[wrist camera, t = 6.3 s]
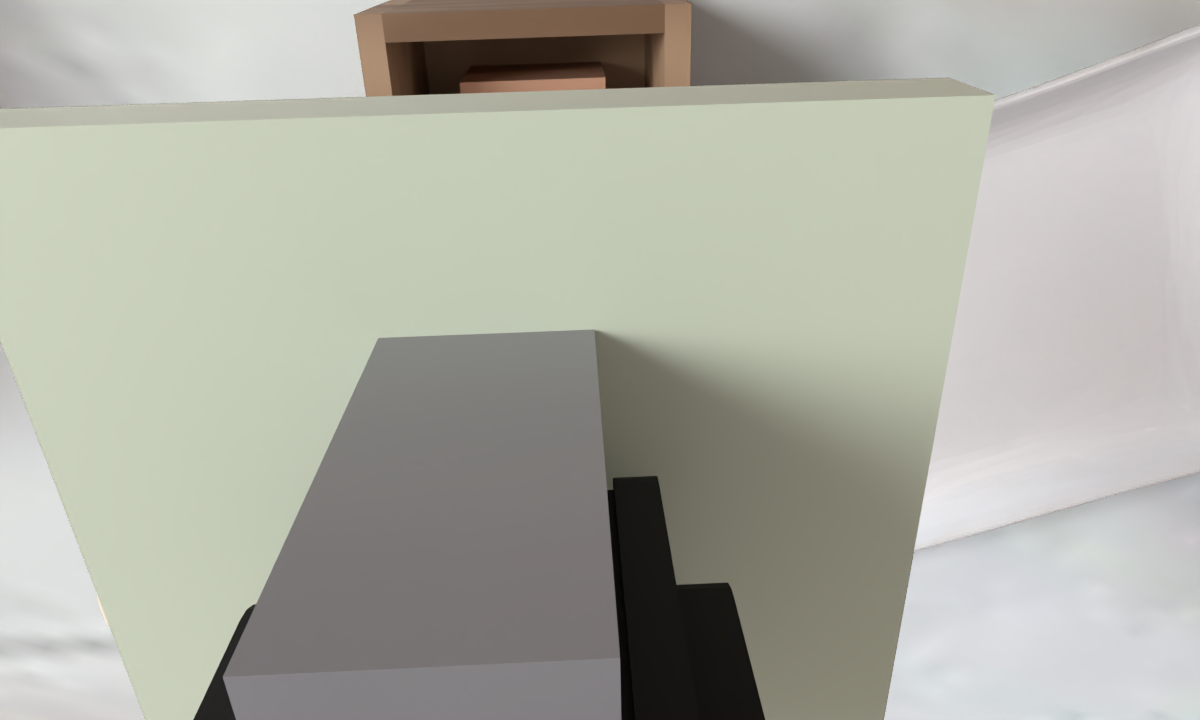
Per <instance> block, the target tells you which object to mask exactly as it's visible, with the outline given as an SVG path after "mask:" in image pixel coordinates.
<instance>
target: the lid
mask: <svg viewBox="0 0 1200 720" xmlns="http://www.w3.org/2000/svg"><path fill="white" fill-rule="evenodd" d="M995 96H996V95H994V94H991V93H989V92H986V91H983V90H981V89H978V88H975V87H973V86H970V85H967V84H964V83H962V82H959V81H956V80H954V79H951V78H923V79H892V80H862V81H832V82H801V83H771V84H740V85H710V86H679V87H649V88H618V89H588V90H557V91H527V92H497V93H466V94H436V95H405V96H375V97H344V98H314V99H283V100H253V101H222V102H192V103H162V104H131V105H101V106H70V107H40V108H9V109H0V341H1V344H2V346H3V349H4V352H5V354H6V357H7V359H8V362H9V365H10V367H11V370H12V372H13V375H14V378H15V380H16V383H17V386H18V388H19V391H20V393H21V396H22V399H23V401H24V404H25V407H26V409H27V412H28V414H29V417H30V420H31V422H32V425H33V428H34V430H35V433H36V435H37V438H38V441H39V443H40V446H41V448H42V451H43V454H44V456H45V459H46V462H47V464H48V467H49V469H50V472H51V475H52V477H53V480H54V483H55V485H56V488H57V490H58V493H59V496H60V498H61V501H62V503H63V506H64V509H65V511H66V514H67V517H68V519H69V522H70V524H71V527H72V530H73V532H74V535H75V538H76V540H77V543H78V545H79V548H80V551H81V553H82V556H83V558H84V561H85V564H86V566H87V569H88V572H89V574H90V577H91V579H92V582H93V585H94V587H95V590H96V593H97V595H98V598H99V600H100V603H101V606H102V608H103V611H104V613H105V616H106V619H107V621H108V624H109V627H110V629H111V632H112V634H113V637H114V640H115V642H116V645H117V648H118V650H119V653H120V655H121V658H122V661H123V663H124V666H125V669H126V671H127V674H128V676H129V679H130V682H131V684H132V687H133V689H134V692H135V695H136V697H137V700H138V703H139V705H140V708H141V710H142V713H143V716H144V718H145V720H193V719H194V717H195V715H196V713H197V711H198V709H199V706H200V704H201V702H202V700H203V698H204V696H205V694H206V692H207V689H208V687H209V685H210V683H211V681H212V679H213V677H214V674H215V672H216V670H217V668H218V666H219V664H220V662H221V660H222V657H223V655H224V653H225V651H226V649H227V647H228V645H229V642H230V640H231V638H232V636H233V634H234V632H235V630H236V628H237V625H238V623H239V621H240V619H241V618H242V616H243V614H244V613H245V611H246V610H247V609H248V608H249V607H251V606H252V605H253V604H256V606H255V608H254V610H253V612H252V614H251V616H250V619H249V621H248V623H247V625H246V627H245V629H244V632H243V634H242V636H241V638H240V640H239V643H238V645H237V647H236V649H235V651H234V653H233V656H232V658H231V660H230V662H229V664H228V667H227V669H226V671H225V673H224V675H223V680H224V683H225V686H226V689H227V693H228V696H229V699H230V702H231V705H232V709H233V712H234V715H235V718H236V720H621V675H620V650H619V637H618V624H617V611H616V598H615V586H614V573H613V560H612V547H611V535H610V522H609V509H608V496H607V490H613V478H618V477H641V476H657V477H658V481H659V486H660V492H661V498H662V503H663V509H664V515H665V521H666V527H667V532H668V538H669V544H670V550H671V556H672V562H673V567H674V573H675V579H676V585H683V584H705V583H727V582H728V584H729V585H730V587H731V589H732V592H733V595H734V599H735V603H736V607H737V611H738V615H739V619H740V622H741V626H742V630H743V634H744V638H745V642H746V646H747V650H748V654H749V658H750V662H751V666H752V670H753V673H754V677H755V681H756V685H757V689H758V693H759V697H760V701H761V705H762V709H763V713H764V717H765V720H884V716H885V710H886V705H887V699H888V693H889V688H890V682H891V677H892V671H893V666H894V660H895V654H896V649H897V643H898V638H899V632H900V626H901V621H902V615H903V610H904V604H905V598H906V593H907V587H908V582H909V576H910V571H911V565H912V559H913V554H914V548H915V543H916V537H917V531H918V526H919V520H920V515H921V509H922V504H923V498H924V492H925V487H926V481H927V476H928V470H929V464H930V459H931V453H932V448H933V442H934V436H935V431H936V425H937V420H938V414H939V409H940V403H941V397H942V392H943V386H944V381H945V375H946V369H947V364H948V358H949V353H950V347H951V341H952V336H953V330H954V325H955V319H956V314H957V308H958V302H959V297H960V291H961V286H962V280H963V274H964V269H965V263H966V258H967V252H968V246H969V241H970V235H971V230H972V224H973V219H974V213H975V207H976V202H977V196H978V191H979V185H980V179H981V174H982V168H983V163H984V157H985V152H986V146H987V140H988V135H989V129H990V124H991V118H992V112H993V107H994V101H995Z"/></svg>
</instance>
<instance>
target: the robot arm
mask: <svg viewBox="0 0 1200 720" xmlns="http://www.w3.org/2000/svg"><path fill="white" fill-rule="evenodd" d="M607 496H608V509H609V522H610V535H611V547H612V560H613V573H614V586H615V598H616V611H617V624H618V637H619V650H620V675H621V720H765V717H764V713H763V709H762V705H761V701H760V697H759V693H758V689H757V685H756V681H755V677H754V673H753V670H752V666H751V662H750V658H749V654H748V650H747V646H746V642H745V638H744V634H743V630H742V626H741V622H740V619H739V615H738V611H737V607H736V603H735V599H734V595H733V592H732V589H731V587H730V585H729V584H728V582H727V583H705V584H683V585H676V579H675V573H674V567H673V562H672V556H671V550H670V544H669V538H668V532H667V527H666V521H665V515H664V509H663V503H662V498H661V492H660V486H659V481H658V477H657V476H641V477H618V478H613V490H607ZM255 606H256V604H253V605H252V606H251V607H249V608H248V609H247V610H246V611H245V613H244V614H243V616H242V618H241V619H240V621H239V623H238V625H237V628H236V630H235V632H234V634H233V636H232V638H231V640H230V642H229V645H228V647H227V649H226V651H225V653H224V655H223V657H222V660H221V662H220V664H219V666H218V668H217V670H216V672H215V674H214V677H213V679H212V681H211V683H210V685H209V687H208V689H207V692H206V694H205V696H204V698H203V700H202V702H201V704H200V706H199V709H198V711H197V713H196V715H195V717H194V719H193V720H236V718H235V715H234V712H233V709H232V705H231V702H230V699H229V696H228V693H227V689H226V686H225V683H224V680H223V675H224V673H225V671H226V669H227V667H228V664H229V662H230V660H231V658H232V656H233V653H234V651H235V649H236V647H237V645H238V643H239V640H240V638H241V636H242V634H243V632H244V629H245V627H246V625H247V623H248V621H249V619H250V616H251V614H252V612H253V610H254V608H255Z"/></svg>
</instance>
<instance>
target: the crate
mask: <svg viewBox="0 0 1200 720" xmlns="http://www.w3.org/2000/svg"><path fill="white" fill-rule="evenodd" d="M691 17H692V3H690V2H688V1H687V0H390V1H387V2H385V3H382V4H380V5H377V6H375V7H372V8H370V9H367V10H365V11H362V12H360V13H357V14H355V15H354V18H355V25H356V32H357V39H358V45H359V52H360V59H361V65H362V72H363V79H364V86H365V92H366V97H375V96H405V95H436V94H466V93H497V92H527V91H557V90H588V89H618V88H649V87H679V86H690V70H691Z"/></svg>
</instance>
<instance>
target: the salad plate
mask: <svg viewBox="0 0 1200 720" xmlns="http://www.w3.org/2000/svg"><path fill="white" fill-rule="evenodd" d="M1198 472H1200V25H1198V26H1195V27H1192V28H1189V29H1187V30H1184V31H1181V32H1179V33H1176V34H1174V35H1171V36H1168V37H1166V38H1163V39H1160V40H1158V41H1155V42H1153V43H1150V44H1147V45H1145V46H1142V47H1140V48H1137V49H1135V50H1132V51H1130V52H1127V53H1124V54H1122V55H1119V56H1117V57H1114V58H1112V59H1109V60H1107V61H1104V62H1101V63H1099V64H1096V65H1093V66H1090V67H1088V68H1085V69H1082V70H1079V71H1077V72H1074V73H1071V74H1068V75H1066V76H1063V77H1060V78H1057V79H1055V80H1052V81H1049V82H1046V83H1043V84H1041V85H1038V86H1035V87H1032V88H1029V89H1026V90H1023V91H1020V92H1017V93H1015V94H1012V95H1009V96H1006V97H1003V98H1000V99H997V100H995V101H994V107H993V112H992V118H991V124H990V129H989V135H988V140H987V146H986V152H985V157H984V163H983V168H982V174H981V179H980V185H979V191H978V196H977V202H976V207H975V213H974V219H973V224H972V230H971V235H970V241H969V246H968V252H967V258H966V263H965V269H964V274H963V280H962V286H961V291H960V297H959V302H958V308H957V314H956V319H955V325H954V330H953V336H952V341H951V347H950V353H949V358H948V364H947V369H946V375H945V381H944V386H943V392H942V397H941V403H940V409H939V414H938V420H937V425H936V431H935V436H934V442H933V448H932V453H931V459H930V464H929V470H928V476H927V481H926V487H925V492H924V498H923V504H922V509H921V515H920V520H919V526H918V531H917V537H916V543H915V548H914V551H917V550H921V549H924V548H928V547H932V546H935V545H939V544H942V543H946V542H950V541H953V540H957V539H960V538H964V537H968V536H971V535H975V534H978V533H982V532H986V531H989V530H993V529H996V528H1000V527H1004V526H1007V525H1010V524H1014V523H1017V522H1021V521H1024V520H1028V519H1031V518H1034V517H1038V516H1042V515H1045V514H1049V513H1052V512H1056V511H1059V510H1063V509H1067V508H1070V507H1074V506H1077V505H1081V504H1085V503H1088V502H1092V501H1095V500H1099V499H1102V498H1106V497H1109V496H1113V495H1117V494H1120V493H1124V492H1127V491H1131V490H1135V489H1139V488H1142V487H1146V486H1150V485H1153V484H1157V483H1161V482H1164V481H1168V480H1172V479H1176V478H1179V477H1183V476H1187V475H1191V474H1194V473H1198Z"/></svg>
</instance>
